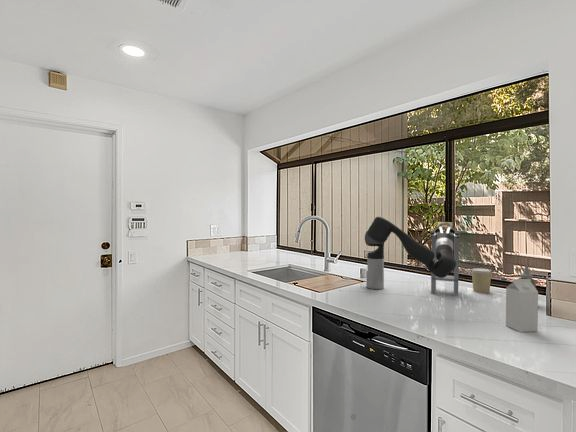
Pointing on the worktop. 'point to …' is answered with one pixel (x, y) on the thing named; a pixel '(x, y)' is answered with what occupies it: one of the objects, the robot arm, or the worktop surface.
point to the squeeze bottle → (527, 275)
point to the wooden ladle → (445, 225)
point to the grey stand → (456, 270)
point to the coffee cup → (481, 280)
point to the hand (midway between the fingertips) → (444, 224)
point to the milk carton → (522, 306)
